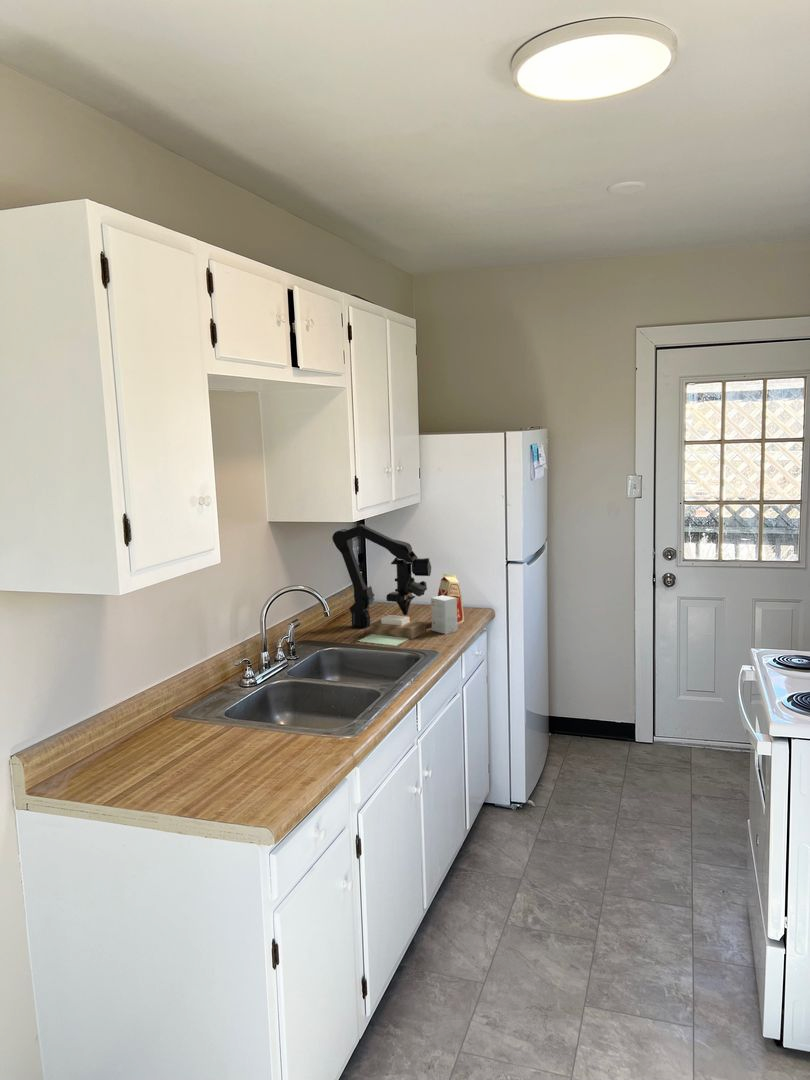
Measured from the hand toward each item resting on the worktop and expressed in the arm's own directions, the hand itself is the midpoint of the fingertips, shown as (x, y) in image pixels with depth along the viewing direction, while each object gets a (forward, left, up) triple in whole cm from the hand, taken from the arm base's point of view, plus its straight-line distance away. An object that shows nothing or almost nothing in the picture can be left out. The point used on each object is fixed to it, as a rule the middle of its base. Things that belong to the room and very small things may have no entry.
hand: (405, 614), depth 313 cm
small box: (+16, +2, -5) cm, 17 cm away
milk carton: (+12, +15, -5) cm, 20 cm away
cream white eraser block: (0, -8, -1) cm, 8 cm away
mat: (+1, -19, -5) cm, 20 cm away
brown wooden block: (+1, -8, -5) cm, 10 cm away
